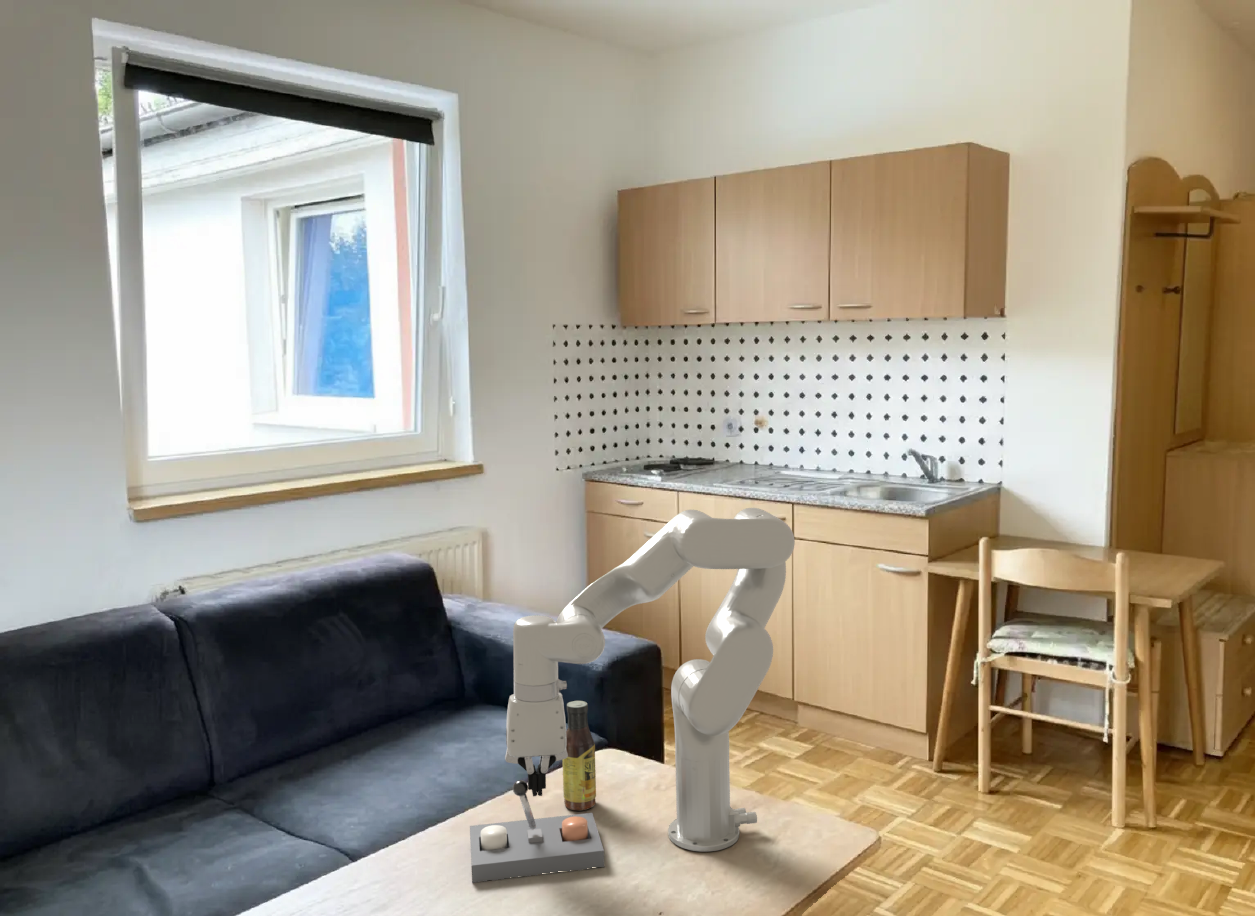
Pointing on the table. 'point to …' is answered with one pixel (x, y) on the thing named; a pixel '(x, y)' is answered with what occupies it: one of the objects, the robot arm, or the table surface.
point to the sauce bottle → (579, 760)
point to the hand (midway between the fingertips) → (536, 792)
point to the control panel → (535, 850)
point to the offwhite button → (493, 837)
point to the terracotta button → (574, 829)
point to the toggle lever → (524, 801)
